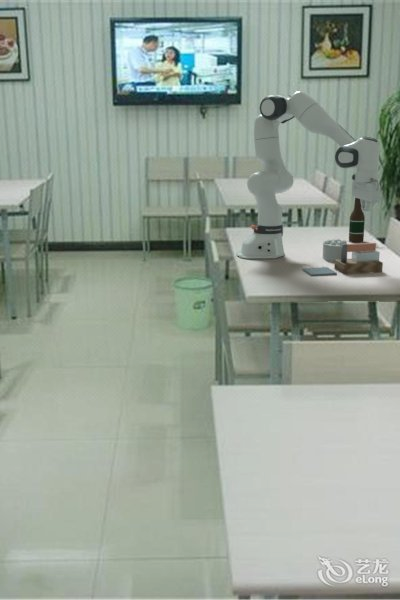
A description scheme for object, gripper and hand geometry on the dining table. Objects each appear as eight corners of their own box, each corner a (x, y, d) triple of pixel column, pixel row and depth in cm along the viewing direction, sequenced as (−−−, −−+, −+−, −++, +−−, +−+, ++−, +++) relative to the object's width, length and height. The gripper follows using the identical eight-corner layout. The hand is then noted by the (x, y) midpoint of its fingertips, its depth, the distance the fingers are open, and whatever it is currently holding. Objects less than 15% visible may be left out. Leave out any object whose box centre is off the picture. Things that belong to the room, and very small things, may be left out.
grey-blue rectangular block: (356, 262, 285) (356, 253, 284) (351, 260, 290) (352, 250, 289) (379, 261, 287) (379, 251, 286) (374, 258, 292) (374, 249, 291)
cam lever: (342, 262, 285) (342, 244, 283) (339, 260, 288) (340, 243, 286) (375, 260, 288) (376, 243, 286) (373, 259, 290) (374, 242, 288)
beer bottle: (352, 239, 357) (355, 192, 351) (366, 241, 353) (369, 193, 346) (345, 241, 352) (347, 194, 345) (359, 243, 347) (361, 195, 340)
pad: (311, 276, 280) (311, 274, 280) (302, 270, 290) (302, 268, 290) (336, 274, 282) (336, 272, 282) (327, 268, 292) (327, 267, 292)
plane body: (343, 274, 283) (343, 264, 282) (334, 268, 292) (334, 259, 291) (382, 272, 286) (382, 262, 285) (372, 266, 295) (372, 257, 294)
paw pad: (343, 256, 318) (344, 237, 316) (349, 262, 305) (350, 242, 303) (321, 256, 318) (321, 237, 316) (325, 262, 305) (326, 243, 303)
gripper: (385, 179, 276) (383, 213, 280) (363, 174, 295) (361, 207, 299) (371, 179, 275) (369, 214, 279) (349, 175, 294) (348, 207, 298)
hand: (365, 210), depth 289 cm, fingers closed
